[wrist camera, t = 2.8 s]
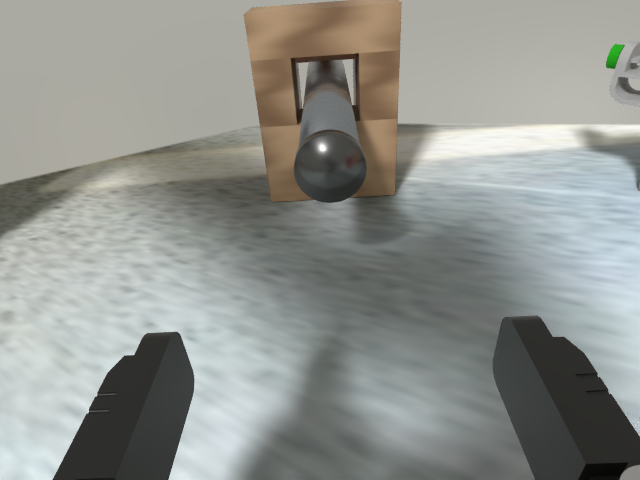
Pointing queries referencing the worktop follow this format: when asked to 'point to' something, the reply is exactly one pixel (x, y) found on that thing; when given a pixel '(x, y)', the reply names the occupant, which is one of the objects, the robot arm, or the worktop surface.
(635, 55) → the mechanical component
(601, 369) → the worktop surface
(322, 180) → the shaft
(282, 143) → the bearing block
